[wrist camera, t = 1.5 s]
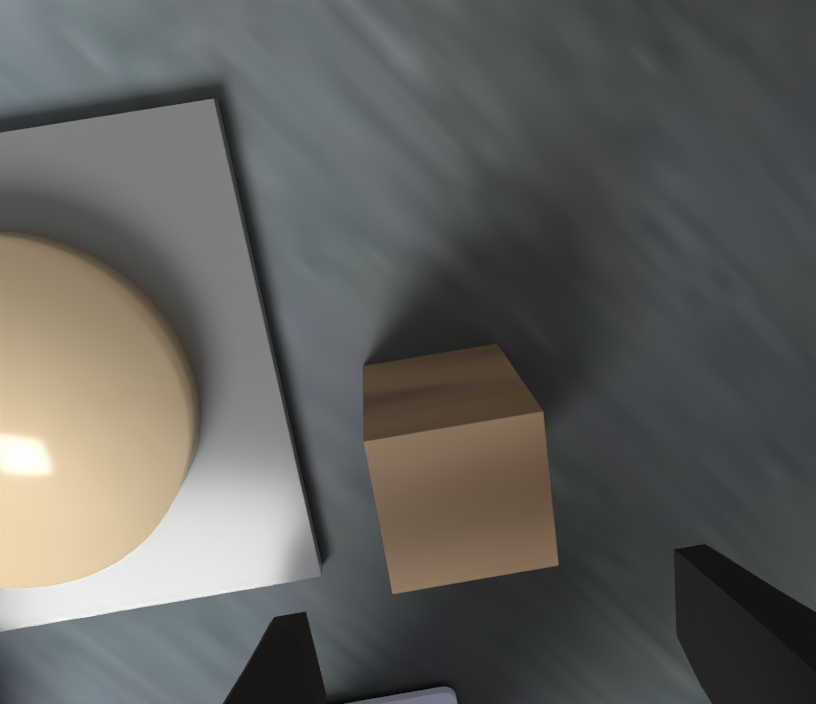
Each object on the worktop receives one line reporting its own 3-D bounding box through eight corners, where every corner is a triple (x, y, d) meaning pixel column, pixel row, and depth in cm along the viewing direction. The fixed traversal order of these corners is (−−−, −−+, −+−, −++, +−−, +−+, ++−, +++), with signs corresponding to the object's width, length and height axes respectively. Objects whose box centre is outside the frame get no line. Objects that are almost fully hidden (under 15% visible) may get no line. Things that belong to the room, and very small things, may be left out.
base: (322, 566, 24) (318, 608, 22) (-120, 642, 24) (-168, 691, 22) (217, 100, 20) (199, 94, 17) (-336, 188, 19) (-425, 193, 17)
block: (511, 464, 24) (558, 565, 18) (385, 485, 24) (392, 594, 18) (496, 343, 22) (543, 411, 17) (362, 365, 22) (363, 441, 17)
